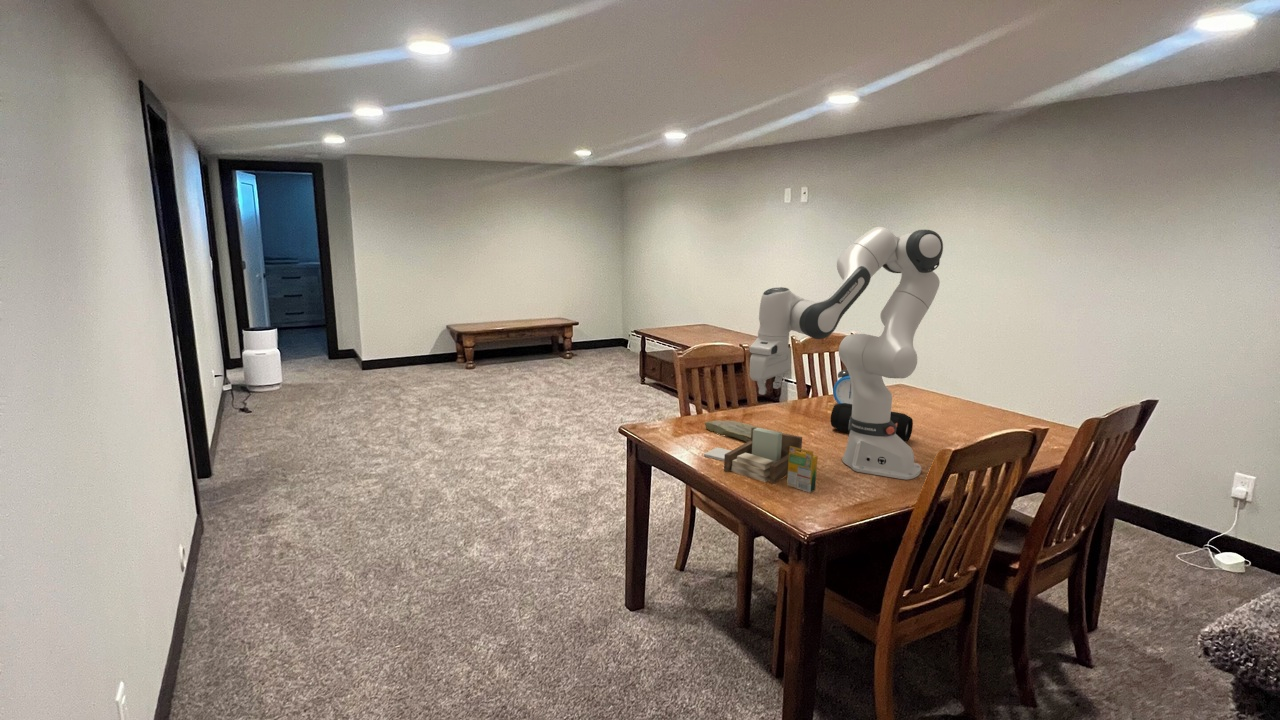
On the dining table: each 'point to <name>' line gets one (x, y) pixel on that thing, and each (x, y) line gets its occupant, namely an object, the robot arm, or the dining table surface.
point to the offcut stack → (752, 466)
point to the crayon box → (802, 469)
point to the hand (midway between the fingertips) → (769, 391)
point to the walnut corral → (776, 469)
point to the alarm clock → (843, 388)
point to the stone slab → (731, 429)
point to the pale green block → (767, 444)
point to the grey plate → (717, 453)
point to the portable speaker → (904, 422)
